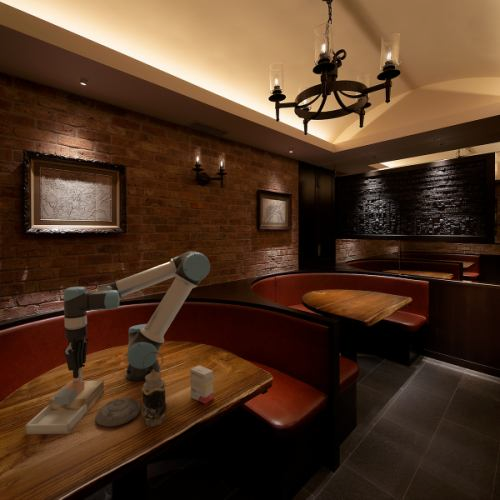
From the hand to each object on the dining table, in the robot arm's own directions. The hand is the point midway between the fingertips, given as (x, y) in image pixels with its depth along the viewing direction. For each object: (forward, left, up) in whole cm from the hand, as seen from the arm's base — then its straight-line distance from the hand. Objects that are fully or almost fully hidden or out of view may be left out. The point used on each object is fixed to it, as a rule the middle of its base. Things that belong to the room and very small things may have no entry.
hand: (78, 384), depth 114 cm
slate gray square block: (0, +8, -2) cm, 8 cm away
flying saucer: (-20, +10, -7) cm, 24 cm away
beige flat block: (0, +1, -7) cm, 7 cm away
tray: (0, +13, -7) cm, 15 cm away
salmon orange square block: (0, +3, -1) cm, 4 cm away
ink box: (-49, 0, -7) cm, 50 cm away
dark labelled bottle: (-34, +13, -7) cm, 38 cm away
